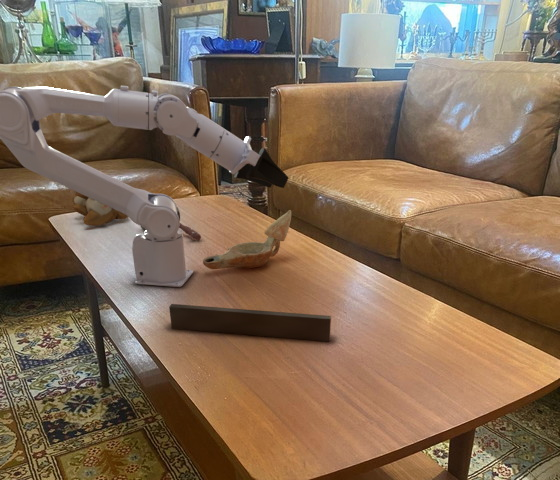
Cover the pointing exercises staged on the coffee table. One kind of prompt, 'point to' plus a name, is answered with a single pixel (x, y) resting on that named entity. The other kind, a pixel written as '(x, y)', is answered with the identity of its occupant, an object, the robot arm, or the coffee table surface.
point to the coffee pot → (186, 229)
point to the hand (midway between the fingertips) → (278, 182)
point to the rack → (251, 322)
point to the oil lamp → (253, 248)
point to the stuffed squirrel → (95, 210)
